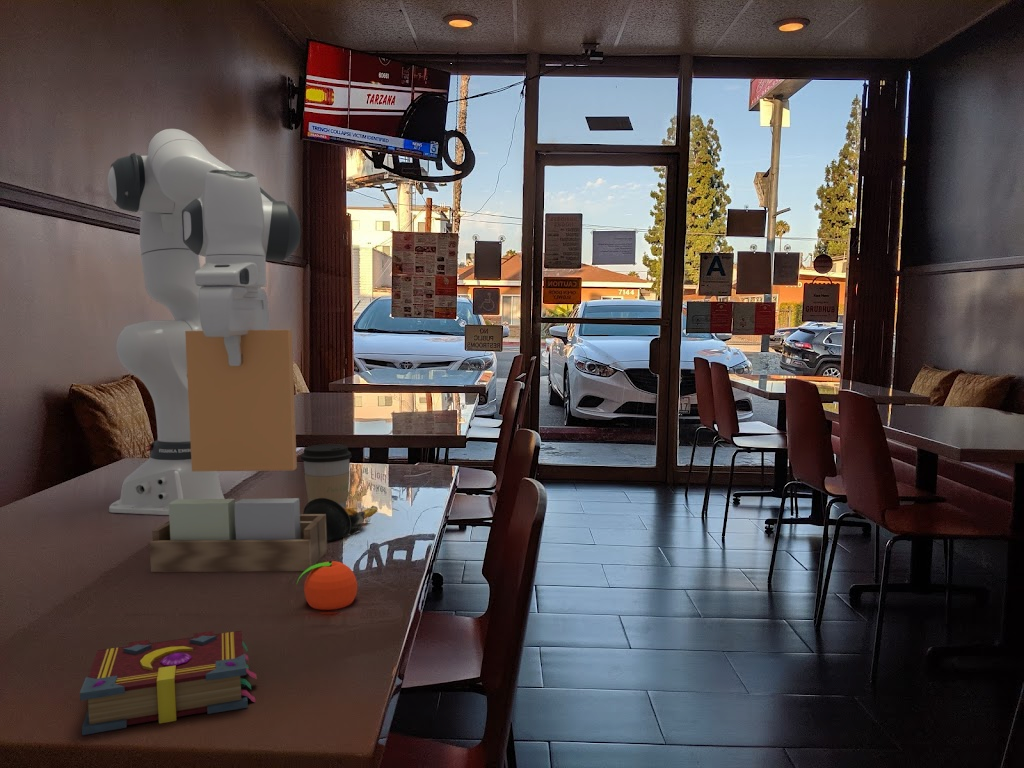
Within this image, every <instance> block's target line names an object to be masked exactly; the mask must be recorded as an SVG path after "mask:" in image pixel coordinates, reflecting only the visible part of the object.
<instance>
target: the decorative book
mask: <svg viewBox="0 0 1024 768" xmlns="http://www.w3.org/2000/svg"><path fill="white" fill-rule="evenodd" d="M192 636H193V637H186V638H180V639H179V638H177V639H170V640H162V641H156V642H150V639H146V640H145V639H144V640H137V641H129V642H128V645H127V646H119V647H113V648H105V649H97V652H96V654H95V657H94V661H93V663H92V665H91V667H90V668H91V669H90V671H89V674H88V676H86V677H85V679H84V682H83V684H82V686H81V689H80V691H79V701H85V700H87V707H88V710H87V711H86V713H85V714H86V715H85V718H84V720H83V723H82V726H81V735H82V736H86V735H91V734H97V733H103V732H109V731H114V730H120V729H126V728H127V726H132V725H137V724H143V723H148V722H154V721H158V724H165V723H171V722H177V718H179V717H185V716H191V715H196V714H203V713H206V714H207V715H210V714H215V713H221V712H223V713H224V712H228V711H235V710H242V709H247V708H249V705H248V704H249V703H248V702H249V701H248V699H250V701H251V702H253V703H256V696H254V695H252V693H250V692H249V691H248V689H247V687H248V688H249V689H250V690H252V684H251V683H250V681H248V680H247V679H246V678H245V676H246V675H249V677H251V678H253V679H256V680H258V678H257V673H255V672H253V671H251V670H250V668H249V667H250V665H249V664H247V663H246V661H248V662H250V661H249V660H250V659H249V655H247V654H246V653H244V650H245V651H246V652H248V646H247V645H246V644H245V642H244V641H243V632H242V630H236V631H230V632H228V631H227V632H222V633H216V634H215V633H214V630H210V631H203V632H197V633H196V632H195V633H193V635H192Z"/></svg>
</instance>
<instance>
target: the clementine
mask: <svg viewBox="0 0 1024 768" xmlns="http://www.w3.org/2000/svg"><path fill="white" fill-rule="evenodd" d="M309 570H310V571H309ZM307 572H309V574H308V575H307V577H306V578H305V581H304V587H303V589H304V590H303V592H304V597H305V600H306V602H307V603H308V605H309V607H310V608H312V609H316V610H322V612H319V613H318V614H322V615H327V616H328V615H329V616H330V615H337V614H340V613H341V612H338V611H337V612H333V611H332V610H338V609H342V608H345V607H348V606H350V605H351V604H353V603H354V601H355V599H356V596H357V593H358V582H357V577H356V575H355V574H354V571H353V570H352V569H351V568H350V567H349V566H348V565H346V564H345V563H343V562H340V561H335V560H329V561H324V562H319V563H316V564H315V565H313V566H311V567H309V568H308V569H306V570H305V571H302V573H301V574H300V575H299V577H298V578H297V582H296V586H297V585H298V582H299V580H300V579H301V578H302V577H303V575H305V574H306V573H307ZM323 611H324V612H323ZM325 611H326V612H325ZM327 611H331V612H327Z"/></svg>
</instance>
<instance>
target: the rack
mask: <svg viewBox="0 0 1024 768" xmlns="http://www.w3.org/2000/svg"><path fill="white" fill-rule="evenodd" d="M300 531H301V539H292V540H170V521H169V520H168V521H166V522H164V523H163V524H162V525H159V526H158V527H156V528H155V529H153V530H151V537H152V540H150V542H149V557H150V559H149V560H150V562H149V563H150V572H151V573H183V572H184V573H192V572H193V573H194V572H196V573H197V572H200V573H203V572H206V573H207V572H208V573H209V572H227V573H228V572H230V573H231V572H304V571H305V570H306V569H308V568H309V567H311V566H313V565H316V564H318V562H319V561H320V560H321V558H322V557H323V556H324V555H325V554H326V553H327V552H328V542H327V531H326V514H303V513H300ZM308 572H311V570H309V571H308Z"/></svg>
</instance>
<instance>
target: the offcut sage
mask: <svg viewBox="0 0 1024 768" xmlns="http://www.w3.org/2000/svg"><path fill="white" fill-rule="evenodd" d="M234 503H236V498H225V499H177V500H175V501H173V502H171V503H169V515H168V517H169V518H168V519H169V520H168V521H170V540H236V529H235V506H234Z"/></svg>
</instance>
